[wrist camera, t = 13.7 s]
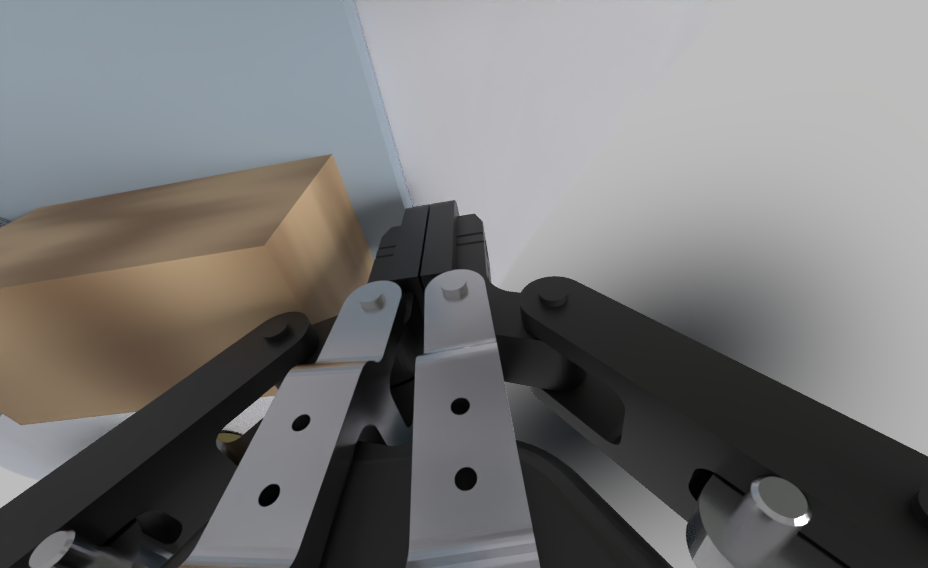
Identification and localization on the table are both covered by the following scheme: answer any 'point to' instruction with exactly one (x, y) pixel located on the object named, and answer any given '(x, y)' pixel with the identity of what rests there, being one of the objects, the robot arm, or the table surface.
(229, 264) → the flange bar
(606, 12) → the table surface
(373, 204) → the base board
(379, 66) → the table surface
